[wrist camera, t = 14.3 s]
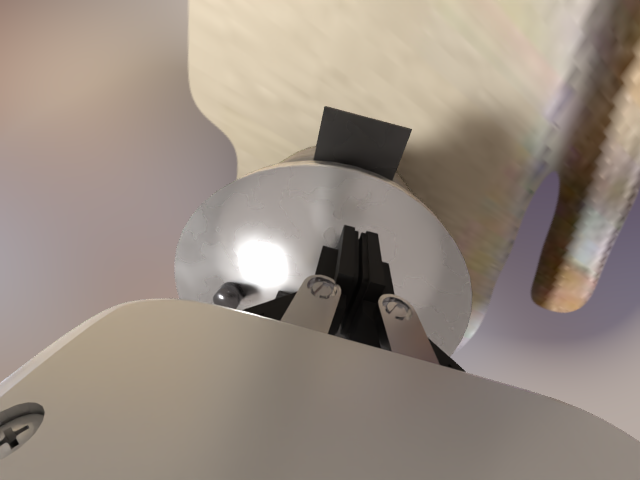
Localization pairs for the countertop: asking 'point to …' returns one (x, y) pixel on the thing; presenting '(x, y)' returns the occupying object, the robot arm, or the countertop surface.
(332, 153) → the cooker pot
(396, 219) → the lid
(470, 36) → the countertop surface
